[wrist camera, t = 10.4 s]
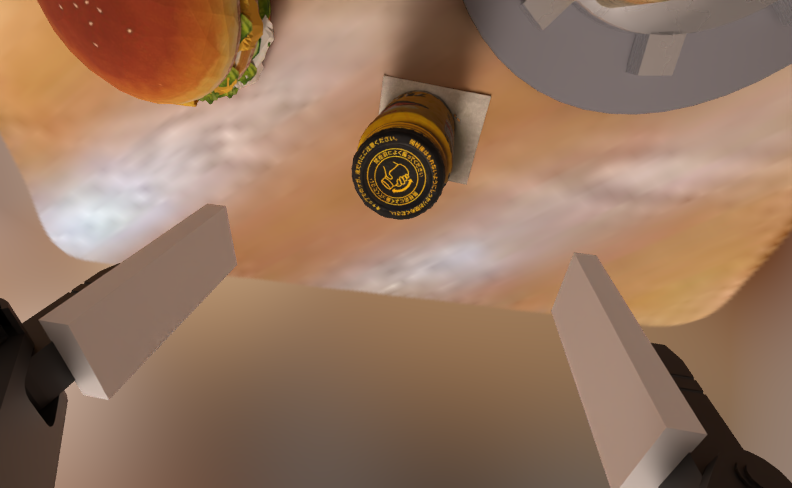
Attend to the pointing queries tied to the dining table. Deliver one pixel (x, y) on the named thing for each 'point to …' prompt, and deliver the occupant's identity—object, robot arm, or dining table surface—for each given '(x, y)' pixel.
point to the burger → (167, 44)
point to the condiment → (416, 146)
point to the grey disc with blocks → (655, 23)
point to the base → (609, 54)
